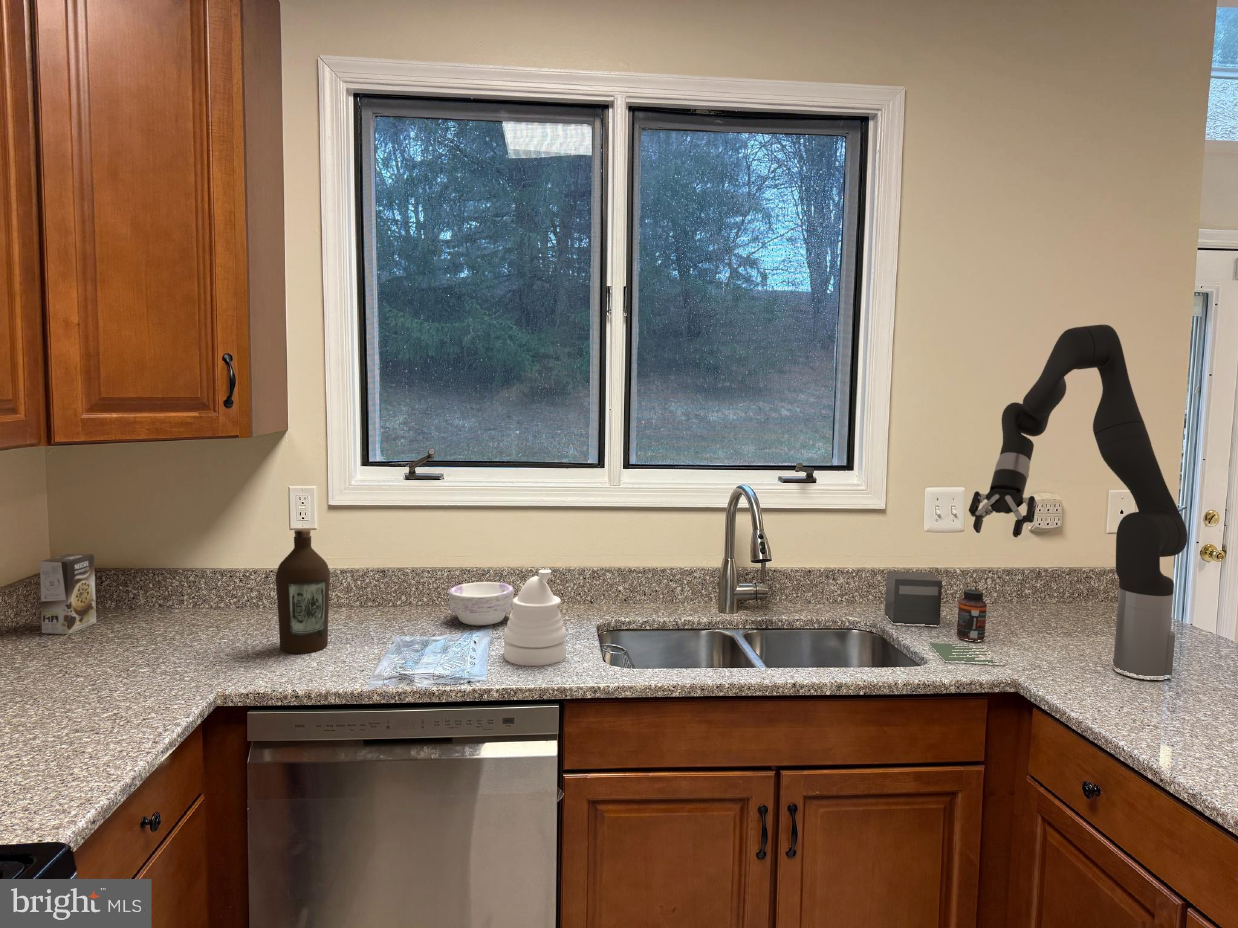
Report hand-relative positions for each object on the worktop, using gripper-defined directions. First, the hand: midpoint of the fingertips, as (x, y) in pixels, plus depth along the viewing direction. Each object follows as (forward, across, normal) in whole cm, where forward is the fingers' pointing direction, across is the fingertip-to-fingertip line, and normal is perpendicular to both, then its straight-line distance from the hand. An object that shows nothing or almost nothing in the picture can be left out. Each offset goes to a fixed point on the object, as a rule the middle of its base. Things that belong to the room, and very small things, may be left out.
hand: (995, 533), depth 191 cm
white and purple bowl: (+65, -90, -56) cm, 124 cm away
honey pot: (+70, -62, -62) cm, 112 cm away
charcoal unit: (+23, -16, +7) cm, 29 cm away
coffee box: (+104, -148, -114) cm, 214 cm away
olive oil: (+87, -100, -89) cm, 159 cm away
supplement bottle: (+26, -1, +3) cm, 26 cm away
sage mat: (+33, +3, -8) cm, 34 cm away
